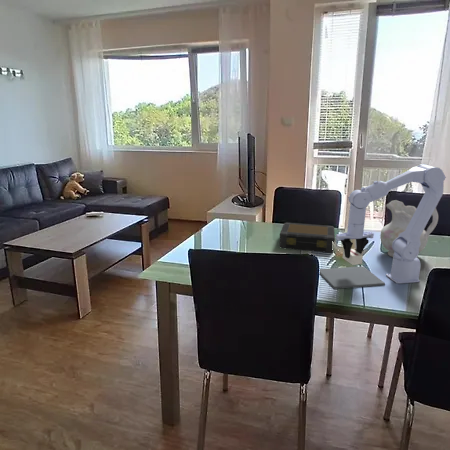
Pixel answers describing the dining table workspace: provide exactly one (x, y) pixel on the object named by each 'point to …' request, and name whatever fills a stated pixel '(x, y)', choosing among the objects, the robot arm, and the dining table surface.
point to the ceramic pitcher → (403, 225)
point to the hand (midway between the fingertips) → (352, 256)
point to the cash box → (307, 237)
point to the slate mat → (350, 277)
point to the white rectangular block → (353, 257)
